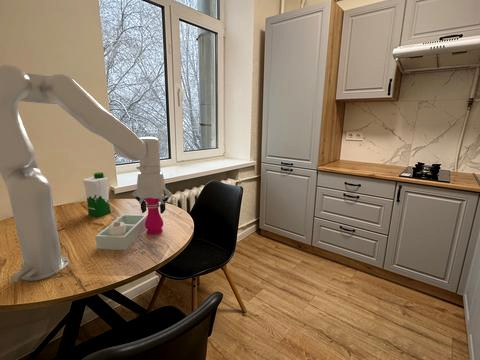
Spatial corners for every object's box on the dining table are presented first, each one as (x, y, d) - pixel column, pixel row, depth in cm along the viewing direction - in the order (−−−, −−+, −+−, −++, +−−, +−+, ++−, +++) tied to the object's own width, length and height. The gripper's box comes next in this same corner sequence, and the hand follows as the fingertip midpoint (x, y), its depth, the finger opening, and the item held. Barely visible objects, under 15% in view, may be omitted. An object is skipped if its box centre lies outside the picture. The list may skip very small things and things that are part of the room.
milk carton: (113, 212, 130) (109, 173, 125) (98, 218, 122) (92, 177, 117) (101, 209, 133) (96, 171, 128) (84, 215, 125) (79, 175, 120)
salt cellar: (122, 246, 95) (120, 224, 93) (107, 245, 96) (105, 224, 93) (129, 238, 101) (127, 218, 99) (115, 238, 101) (113, 218, 99)
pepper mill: (142, 233, 107) (138, 187, 102) (158, 228, 113) (155, 184, 108) (151, 239, 103) (147, 191, 98) (167, 233, 108) (164, 187, 103)
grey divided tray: (126, 252, 93) (124, 237, 92) (97, 251, 93) (95, 236, 92) (148, 228, 113) (147, 215, 111) (124, 227, 113) (122, 214, 112)
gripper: (123, 170, 97) (128, 215, 102) (169, 172, 97) (171, 216, 101) (132, 166, 105) (136, 208, 109) (175, 167, 104) (177, 209, 108)
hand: (153, 211), depth 105 cm, fingers open, 6 cm apart
